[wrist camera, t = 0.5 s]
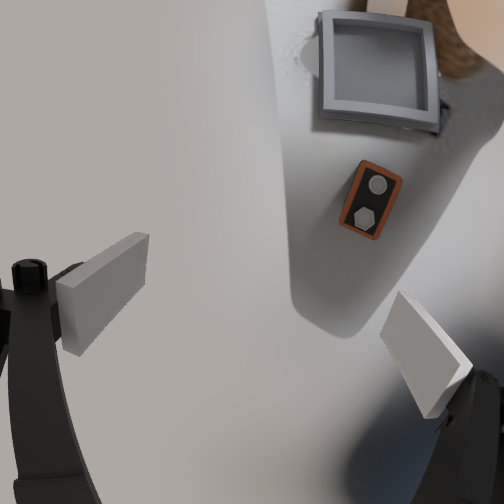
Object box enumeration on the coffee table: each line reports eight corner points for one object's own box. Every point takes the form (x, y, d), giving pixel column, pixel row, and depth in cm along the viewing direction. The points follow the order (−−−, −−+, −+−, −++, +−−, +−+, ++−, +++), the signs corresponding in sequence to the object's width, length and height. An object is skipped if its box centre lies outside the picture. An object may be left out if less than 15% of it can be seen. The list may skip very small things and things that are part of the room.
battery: (342, 208, 36) (336, 226, 27) (361, 158, 33) (362, 159, 24) (373, 222, 35) (377, 245, 26) (393, 172, 32) (406, 179, 23)
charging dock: (431, 26, 23) (436, 18, 21) (437, 133, 29) (443, 131, 26) (319, 15, 28) (315, 5, 26) (319, 118, 33) (316, 115, 31)
